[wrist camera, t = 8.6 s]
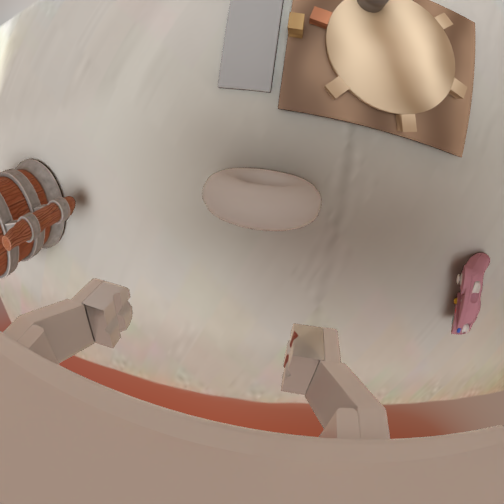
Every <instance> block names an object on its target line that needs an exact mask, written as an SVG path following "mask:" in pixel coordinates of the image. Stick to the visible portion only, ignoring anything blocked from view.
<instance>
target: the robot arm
mask: <svg viewBox="0 0 504 504" xmlns="http://www.w3.org/2000/svg"><path fill="white" fill-rule="evenodd" d="M129 298H130V291H129V289H128V288H127V287H124V286H121V285H117V284H114V283H111V282H107V281H103V280H100V279H97V278H95V279H92V280H91V281H90V282H89V283H88V284H87V285H85V286H84V287H83V288H82V289H81V290H80V291H79V292H78V293H77V294H76V295H75V296H74V297H73V298H72V299H71V300H70V299H66V300H63V301H60V302H57V303H54V304H51V305H48V306H45V307H42V308H40V309H37V310H34V311H31V312H28V313H25V314H22V315H20V316H19V317H18V318H17V319H16V320H15V321H14V322H13V323H12V324H11V325H10V326H9V327H8V328H7V329H6V330H5V331H4V332H3V333H2V332H1V331H0V504H504V425H499V426H494V427H489V428H484V429H479V430H473V431H468V432H462V433H455V434H448V435H441V436H430V437H419V438H404V439H390V435H389V428H388V421H387V414H386V409H385V408H384V407H383V405H382V404H381V403H380V402H379V401H378V400H377V399H376V397H375V396H374V395H373V394H372V393H371V392H370V391H369V390H368V389H367V387H366V386H365V385H364V384H363V383H362V382H361V381H360V380H359V378H358V377H357V376H356V375H355V374H354V373H353V372H352V371H351V369H350V368H349V367H348V366H347V365H346V364H345V363H341V357H340V348H339V339H338V331H337V330H336V329H333V328H325V327H322V328H321V327H315V326H309V325H302V324H296V323H294V324H293V326H292V330H291V336H290V340H289V341H288V344H287V348H286V352H285V357H284V365H283V367H284V368H285V369H284V372H283V376H282V385H281V391H284V392H290V393H296V394H303V395H305V397H306V399H307V401H308V402H309V404H310V406H311V407H312V409H313V411H314V413H315V415H316V416H317V418H318V420H319V421H320V423H321V425H322V426H323V428H324V430H323V432H322V433H321V435H320V436H319V437H309V436H300V435H290V434H283V433H275V432H269V431H262V430H256V429H251V428H245V427H240V426H235V425H230V424H225V423H221V422H216V421H212V420H208V419H203V418H199V417H196V416H192V415H188V414H184V413H181V412H177V411H174V410H170V409H167V408H164V407H161V406H158V405H154V404H151V403H149V402H146V401H143V400H140V399H137V398H134V397H132V396H129V395H126V394H124V393H121V392H118V391H116V390H113V389H111V388H108V387H106V386H103V385H101V384H99V383H96V382H94V381H92V380H89V379H87V378H85V377H83V376H81V375H78V374H76V373H74V372H72V371H70V370H68V369H66V368H64V367H62V366H60V365H59V363H60V362H62V361H64V360H66V359H67V358H69V357H71V356H73V355H75V354H76V353H78V352H80V351H82V350H84V349H85V348H87V347H89V346H91V345H92V344H94V342H95V343H98V344H101V345H104V346H107V347H110V348H114V346H115V345H116V343H117V342H118V341H119V339H120V338H121V334H120V332H122V331H124V330H126V329H127V328H128V326H129V325H130V322H131V319H132V306H131V305H130V303H129V302H128V299H129Z"/></svg>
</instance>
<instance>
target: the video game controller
mask: <svg viewBox="0 0 504 504" xmlns="http://www.w3.org/2000/svg"><path fill="white" fill-rule="evenodd" d="M489 263H490V258H489V256H488V255H487V254H485V253H477V254H475V255H473V256H472V257H471V258H470V259H469V260H468V261H467V263H466V265H464V268H463V271H462V273H461V275H460V274H458V276H457V279H456V281H457V284H458V283H459V282H460V289H461V293H459V292H458V294H457V298H455V299H454V304H456V305H455V312H454V315H453V319H452V329H451V334H465V333H468V332H469V331H470V329H471V327H472V325H473V323H474V322H475V320H476V318H477V315H478V313H479V311H480V306H481V301H480V297H481V292H482V285H483V275H484V272H485V270H486V269H487V267H488V266H489ZM459 275H460V277H459Z"/></svg>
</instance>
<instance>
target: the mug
mask: <svg viewBox="0 0 504 504" xmlns="http://www.w3.org/2000/svg"><path fill="white" fill-rule="evenodd" d="M75 204H76V203H75V200H74V198H73V197H71V196H68V197H64V198H63V197H62V194H61V191H60V188H59V186H58V183H57V182H56V180H55V178H54V176H53V175H52V174H51V172H50V171H49V170H48V169H47V168H46V167H45V166H44V165H43V164H42V163H40V162H38V161H36V160H32V159H28V160H24V161H23V162H21V163H20V164H19V165H18V166H17V167H16V168H15V169H9V170H5V171H3V172H0V279H4V278H5V277H7V276H8V275H9V274H11V273H12V272H13V271H14V270H15V269H16V268H17V265H18V262H20V261H27V260H29V259H30V258H32V257H33V256H35V255H36V254H37V253H38V252H39V251H40V250H41V248H49V247H52V246H54V245H55V244H56V243H57V242H58V241H59V240H60V238H61V236H62V233H63V229H64V221H65V220H67V219H68V218H69V216H70V215H71V214H72V213H73V210H74V208H75Z"/></svg>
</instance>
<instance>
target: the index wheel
mask: <svg viewBox="0 0 504 504" xmlns="http://www.w3.org/2000/svg"><path fill="white" fill-rule="evenodd" d="M309 23H310V24H313V25H316V26H318V27H321V28H324V29H326V28H327V30H326V36H325V47H326V53H327V57H328V60H329V63H330V65H331V67H332V69H333V71H334V73H335V75H336V76H337V78H335V79H334V80H332V81H331V82H330V83H328V84H327V85H325V86H324V89H325V90H326V91H327V92H328V93H329V95H330V96H331V97H332V98H333V99H336V98H337V97H338V96H340V95H341V94H343V93H344V92H346V91H347V90H348V91H349V92H350V93H351V94H353V95H354V96H355V97H356V98H358V99H359V100H360V101H362V102H363V103H365V104H367V105H369V106H371V107H373V108H375V109H378V110H381V111H384V112H388V113H393V114H396V122H397V130H398V131H401V132H417V127H416V118H415V114H417V113H421V112H425V111H427V110H430V109H432V108H434V107H435V106H437V105H438V104H439V103H440V102H442V101H443V100H444V98H445V97H446V96H447V94H450V95H451V96H453V97H454V98H455V99H464V96H465V93H466V90H467V86H465V85H464V84H463V83H461V82H460V81H459V80H457V79H456V78H454V77H455V58H454V52H453V49H452V46H451V43H450V41H449V38H448V36H447V35H446V33H445V31H444V29H445V28H447V27H449V26H451V25H453V23H452V22H451V20H450V19H449V18H448V17H447V15H446V14H445V13H442V14H440V15H438V16H436V17H433V16H432V15H431V14H430V13H429V12H428V11H427V10H426V9H424V8H423V7H422V6H420V5H419V4H417V3H416V2H414V1H412V0H344V1H342V2H341V3H340V4H339V5H338V6H337V8H336V9H335V10H334V12H333V13H332V12H330V11H327V10H324V9H322V8H319V7H316V6H314V9H313V11H312V13H311V16H310V19H309Z"/></svg>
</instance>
